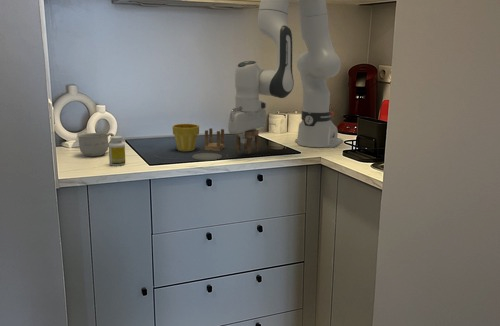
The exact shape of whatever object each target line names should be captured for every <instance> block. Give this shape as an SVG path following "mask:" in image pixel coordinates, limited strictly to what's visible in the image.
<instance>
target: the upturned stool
mask: <svg viewBox="0 0 500 326" xmlns="http://www.w3.org/2000/svg"><path fill="white" fill-rule="evenodd" d="M223 148H224V149H225V129H224V128H221V129H220V130H217V131H216V142H213V127H212V128H211V127H210V128H209V130H207V129H206V130H204V150H205V151H209V150H212V151H211V152H221V151H222V150H223ZM220 150H221V151H220Z"/></svg>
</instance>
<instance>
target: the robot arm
mask: <svg viewBox="0 0 500 326" xmlns="http://www.w3.org/2000/svg"><path fill="white" fill-rule="evenodd" d="M291 1H293V0H260V2H259V7H258V13H257V27H258V29H259V31H260V32H261V33H262V35H264V36H265V37H267V38H269V39H271V40H272V41H273V42H274V43H275V45H276V49H277V50H276V52H277V53H276V69H274V70H273V69H265V68H264V67H262V66H260V65H259V64H258V62H257V61H255V60H247V61H246V60H245V61H242V62H240V63H238V64H237V66H236V69H235V74H234V75H235V76H234V86H235V87H234V88H235V90H236V91H235V98H234V100H235V107H234V108H232V110H231V111H230V113H229V117H228V125H227V126H228V127H227V128H228V132H229V134H232V135H236V134H239V137H240V144H243V145H244V143H246V142H247V138H245V136H244V135H245V132H246V131H249V130H258V129H259V128H260V129H261V128H263V127H265V125H266V124H267V123H266V122H267V111H266V108H267V103H266V102H265V101H262V100H260V95H261V96H270V97H275V98H279V99H284V98H286V97H288V96H289V95H290V94H291V92H292V91H293V89H294V86H295V85H294V84H295V80H294V75H293V34H292V30H291V28H289V25H288V14H289V4H290V2H291ZM296 2H297V4H298V7H299V8H298V12H299V23H300V24H299V25H300V32H301V39H302V40H303V42H304V43H305V47H306V49H307V51H304V52H302V53H301V54H300V55H299V57H298V58H297V60H296V68H297V69H298V71H299V73H300V80H301V86H302V99H303V100H302V111H301V113H300V114H301V115H300V116H301V117H300V119H301V122H299V124H298V129H297V138H296V139H295V140H294V143H297V145H299V146H303V147H308V148H336V147H337V146H338V145H339V144H341V143H343V141H344V139H343V138H339V137H338V134H339V133H338V132H339V131H338V127H337V126H336V125H335V124H334V123H333V121H332V117H333V116H334V114H335V113H334V111H330V108H331V107H330V106H331V105H330V103H331V92H330V90H329V87H328V85H327V80H328V79H330V78H333V77H336V76H337V75H338V74H339V72H340V71H341V68H342V62H341V59H340V57H339V56H338V54H337V52H336V50H335V48H334V45H333V42H332V38H331V35H330V29H329V17H328V15H329V14H328V7H327V1H326V0H296ZM326 79H327V80H326ZM253 141H254V142H255V136H254V137H251V142H253Z"/></svg>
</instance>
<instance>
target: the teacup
mask: <svg viewBox="0 0 500 326" xmlns="http://www.w3.org/2000/svg"><path fill="white" fill-rule="evenodd" d="M112 136H115V134H113V133H112V132H108V133H106V132H91V133H83V134H78V136H77V139H78V147H79V151H80V152H81V153H82V154H83V155H84V156H86V157H99V156H104V155H105V154H106V152H107V151H109V144H110V143H111V140H110V141H109V137H112Z"/></svg>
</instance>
